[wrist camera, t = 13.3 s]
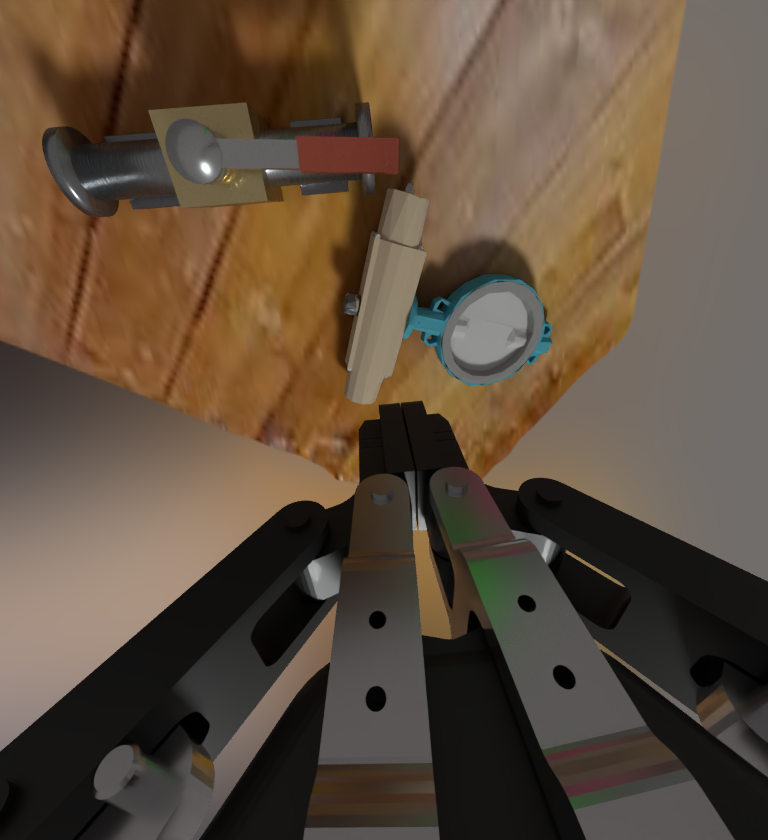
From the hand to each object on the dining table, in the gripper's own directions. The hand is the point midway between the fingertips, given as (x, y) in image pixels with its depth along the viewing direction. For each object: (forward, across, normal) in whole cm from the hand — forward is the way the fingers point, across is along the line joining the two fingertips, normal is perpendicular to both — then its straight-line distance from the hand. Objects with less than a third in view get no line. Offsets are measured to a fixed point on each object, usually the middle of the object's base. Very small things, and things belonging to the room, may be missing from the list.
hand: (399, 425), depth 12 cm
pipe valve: (+37, +13, -11) cm, 41 cm away
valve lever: (+26, +6, -10) cm, 29 cm away
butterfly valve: (+37, -11, +8) cm, 40 cm away
